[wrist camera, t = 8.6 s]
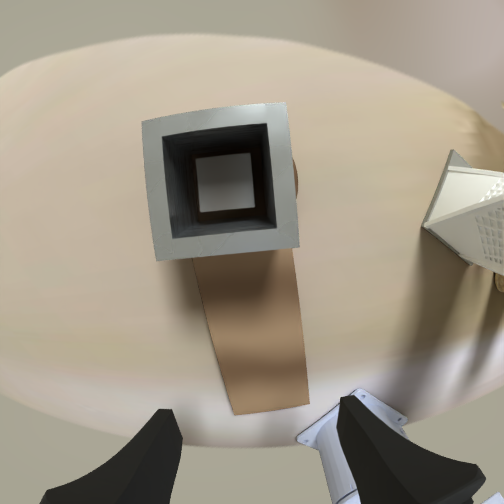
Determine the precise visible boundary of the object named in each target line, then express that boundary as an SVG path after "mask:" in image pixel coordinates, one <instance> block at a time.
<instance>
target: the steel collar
mask: <svg viewBox="0 0 504 504" xmlns="http://www.w3.org/2000/svg"><path fill="white" fill-rule="evenodd" d="M142 140H143V155H144V168H145V179H146V189H147V199H148V207H149V215H150V223H151V230H152V237H153V244H154V250H155V256H156V261H163V260H173V259H184V258H194V257H205V256H215V255H225V254H236V253H246V252H256V251H267V250H277V249H287V248H298V247H300V246H299V230H298V216H297V203H296V191H295V180H294V169H293V159H292V150H291V140H290V131H289V123H288V115H287V107H286V102H284V103H264V104H250V105H239V106H230V107H221V108H213V109H206V110H199V111H192V112H186V113H181V114H175V115H170V116H165V117H160V118H155V119H150V120H146V121H142ZM253 147H260V152H261V162H262V172H263V183H264V193H265V204H266V215H258V216H248V217H238V218H228V219H218V220H209V221H200V222H198V214H197V205H196V196H195V186H194V176H193V166H192V155H193V154H200V153H207V152H215V151H223V150H232V149H242V148H253Z"/></svg>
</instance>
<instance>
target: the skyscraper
mask: <svg viewBox="0 0 504 504" xmlns="http://www.w3.org/2000/svg"><path fill="white" fill-rule="evenodd" d="M421 226H422V227H423V228H424V229H426V230H427V231H428V232H429V233H431V234H432V235H433V236H435V237H436V238H437V239H439V240H440V241H441V242H442V243H444V244H445V245H446V246H447V247H449V248H450V249H451V250H452V251H453V252H455V253H456V254H457V255H458V256H459V257H461V258H462V259H463V260H464V261H465V262H466V263H468V264H469V265H471V266H472V265H473V263H475V264H477V265H479V266H482V267H484V268H486V269H489V270H491V271H493V272H495V273H498V274H500V275H503V276H504V173H502V172H496V171H489V170H482V169H474V168H472V167H471V166H470V165H469V164H468V163H467V162H466V161H465V160H464V159H463V158H462V157H461V156H460V155H459V154H458V153H457V152H456V151H455V150H451V151H450V154H449V157H448V160H447V163H446V166H445V168H444V171H443V174H442V177H441V179H440V182H439V185H438V187H437V190H436V192H435V195H434V197H433V200H432V202H431V205H430V207H429V209H428V212H427V214H426V216H425V218H424V221H423V223H422V225H421Z"/></svg>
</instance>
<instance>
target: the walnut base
mask: <svg viewBox="0 0 504 504" xmlns="http://www.w3.org/2000/svg"><path fill="white" fill-rule="evenodd" d="M292 159H293V158H292ZM192 166H193V176H194V186H195V196H196V205H197V214H198V222H200V221H209V220H218V219H228V218H238V217H248V216H258V215H266V204H265V193H264V183H263V172H262V162H261V152H260V147H253V148H242V149H232V150H223V151H215V152H207V153H200V154H193V155H192ZM293 169H294V180H295V191H296V199H297V193H298V176H297V170H296V166H295V163H294V160H293ZM192 260H193V264H194V268H195V273H196V277H197V281H198V286H199V290H200V294H201V298H202V302H203V306H204V310H205V314H206V318H207V322H208V326H209V330H210V333H211V337H212V341H213V344H214V348H215V352H216V355H217V359H218V362H219V366H220V369H221V373H222V376H223V379H224V383H225V386H226V389H227V393H228V396H229V399H230V402H231V406H232V409H233V412H234V415H242V414H251V413H259V412H266V411H273V410H279V409H285V408H291V407H297V406H302V405H307V404H310V401H309V390H308V379H307V368H306V358H305V348H304V339H303V330H302V321H301V313H300V305H299V297H298V289H297V281H296V274H295V266H294V259H293V252H292V248H287V249H277V250H267V251H256V252H246V253H236V254H225V255H215V256H205V257H194V258H192Z"/></svg>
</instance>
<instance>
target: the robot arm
mask: <svg viewBox="0 0 504 504" xmlns="http://www.w3.org/2000/svg"><path fill="white" fill-rule="evenodd" d="M362 395H363V396H362ZM407 421H408V419H407V417H406V416H404V415H402V414H401V413H399V412H398V411H396V410H394V409H393V408H391V407H390V406H388V405H386V404H385V403H383V402H382V401H380V400H379V399H377V398H376V397H374V396H373V395H371V394H369V393H368V392H366V391H365V390H363V389H357V390H355V391H354V392H353V393H352V394H351V395H350V396H345V397H340V404H339V405H338V406H336V407H335V408H334V409H333V410H332V411H330V412H329V413H328V414H327V415H325V416H324V417H323V418H321V419H320V420H319V421H317V422H316V423H315V424H313V425H312V426H311V427H309V428H308V429H307V430H305V431H304V432H302V433H301V434H300V435H298V436H297V441H298V442H300V443H302V444H304V445H307V446H309V447H312V448H314V449H316V450H319V452H320V456H321V460H322V464H323V468H324V472H325V476H326V480H327V484H328V488H329V492H330V496H331V500H332V504H473V502H474V501H473V500H472V498H471V497H472V496H473V495H474V494H475V493H476V492H477V491H478V489H480V487H481V486H482V485H483V484H484V482H485V480H486V477H485V476H484V474H483V473H482V471H481V470H480V468H479V467H478V466H477V465H476V464H471V463H466V462H461V461H457V460H453V459H450V458H446V457H443V456H440V455H438V454H435V453H433V452H430V451H428V450H426V449H424V448H422V447H420V446H418V445H416V444H414V443H413V442H411V441H410V440H409V439H408V437H407V435H406V433H405V432H404V430H403V428H402V426H403V425H404V424H405V423H406V422H407ZM182 440H183V438H182V435H181V432H180V430H179V427H178V425H177V422H176V419H175V416H174V414H173V411H172V409H158V410H157V411H156V413H155V414H154V415H153V416H152V417H151V418H150V420H149V421H148V422H147V423H146V424H145V425H144V427H143V428H142V429H141V430H140V431H139V432H138V433H137V434H136V435H135V436H134V437H133V439H132V440H131V441H130V442H129V443H128V444H127V445H126V446H125V447H123V448H122V449H121V450H120V451H119V452H118V453H117V454H116V455H115V456H113V457H112V458H111V459H110V460H108V461H107V462H106V463H104V464H103V465H101V466H100V467H98V468H97V469H95V470H93V471H92V472H90V473H88V474H87V475H85V476H83V477H81V478H79V479H77V480H75V481H72V482H70V483H67V484H65V485H62V486H59V487H56V488H52V489H49V490H47V491H46V492H45V495H44V496H43V498H42V500H41V502H40V504H169V503H170V498H171V493H172V489H173V485H174V481H175V477H176V474H177V470H178V466H179V462H180V457H181V450H182ZM481 504H504V499H503V498H502V496H501V495H500V493H499V492H496V493H495V494H494V495H492V496H491V497H489V498H488V499H487V500H485V501H484V502H482V503H481Z"/></svg>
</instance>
